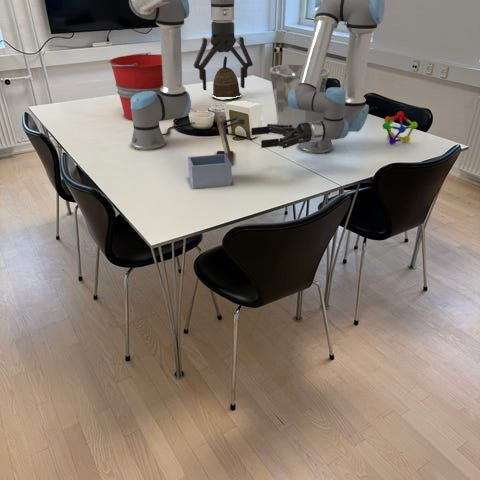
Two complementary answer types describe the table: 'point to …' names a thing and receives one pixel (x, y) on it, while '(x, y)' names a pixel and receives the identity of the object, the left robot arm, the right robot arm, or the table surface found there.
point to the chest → (210, 171)
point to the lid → (223, 133)
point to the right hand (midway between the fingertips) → (256, 137)
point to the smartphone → (224, 153)
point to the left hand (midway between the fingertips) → (223, 88)
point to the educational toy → (398, 128)
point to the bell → (225, 82)
